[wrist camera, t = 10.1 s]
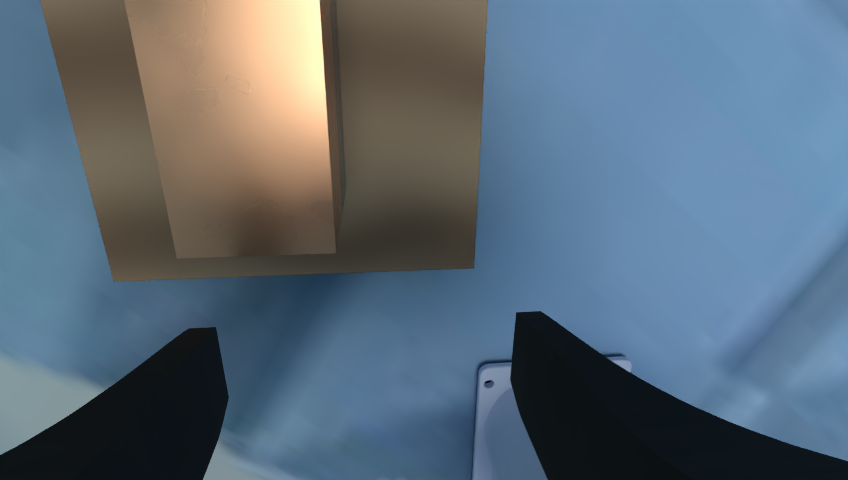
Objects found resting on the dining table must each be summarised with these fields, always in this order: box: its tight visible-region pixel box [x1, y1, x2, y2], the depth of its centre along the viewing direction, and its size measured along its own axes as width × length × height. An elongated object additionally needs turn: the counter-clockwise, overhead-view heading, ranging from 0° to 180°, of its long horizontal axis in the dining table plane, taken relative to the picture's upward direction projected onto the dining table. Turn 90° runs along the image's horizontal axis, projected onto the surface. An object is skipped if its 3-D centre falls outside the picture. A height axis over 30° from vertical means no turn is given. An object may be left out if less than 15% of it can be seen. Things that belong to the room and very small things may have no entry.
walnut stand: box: [40, 0, 488, 282], centre depth 18 cm, size 15×14×2 cm
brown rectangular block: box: [124, 0, 346, 259], centre depth 14 cm, size 8×4×6 cm, turn 179°
